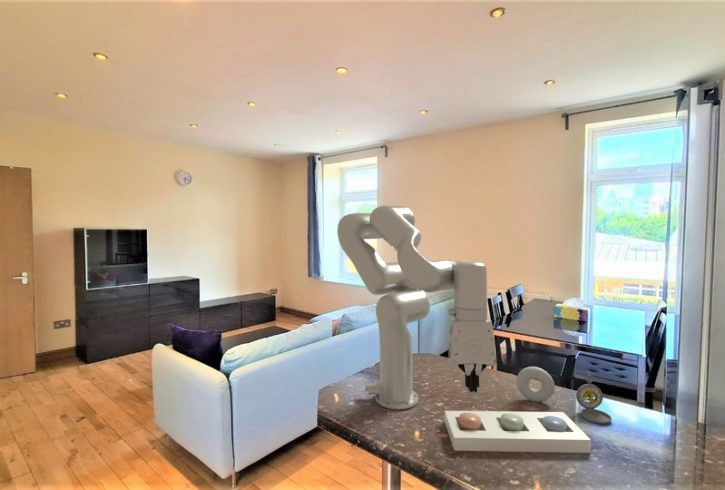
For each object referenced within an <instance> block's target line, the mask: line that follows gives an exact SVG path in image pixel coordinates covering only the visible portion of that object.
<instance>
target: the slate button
mask: <svg viewBox="0 0 725 490" xmlns="http://www.w3.org/2000/svg"><path fill="white" fill-rule="evenodd" d="M543 427H544V428H545V429H546V430H547V431H548V432H567V423H566V422H565V421H564V420H563V419H561V418H558V417H554V416H546V417H544V418H543Z"/></svg>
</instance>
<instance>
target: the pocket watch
mask: <svg viewBox="0 0 725 490" xmlns="http://www.w3.org/2000/svg"><path fill="white" fill-rule="evenodd" d="M587 377H592V378H593V379H592V378H588V379H586V378H587ZM583 378H584V380H585V381H586V382H587V383H585V384H582V385H581V386H579V387H578V388H577V390H576V393H575V397H576V401H577V403H578V404H579V405H580V406H581V407H583V408H584V409H582V410H581V413H580V414H581V416H582V417H583V418H584V419H586V420H587V421H590V422H592V423H596V424H602V425H605V424H606V425H607V424H610V423H612V421H613V420H612V417H611V415H610V414H608V413H607V412H604V411H603V410H599V409H597V408H598V407H599V406H601V404H602V403H603V400H604V394H603V392H602V390H601V388H599V387H598V386H597V385H595V384H592V382H594V381H595V377H594V376H593V375H590V374H587V375H585V376H584V377H583Z"/></svg>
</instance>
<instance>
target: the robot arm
mask: <svg viewBox="0 0 725 490" xmlns="http://www.w3.org/2000/svg"><path fill="white" fill-rule="evenodd" d="M414 215H415V214H414V213H413V212H412V210H411V209H409V208H408V207H406V206H400V205H380V206H378V207H375V208H374V209H373V210H372V211H371V213H368V212H367V213H366V212H355V213H354V212H353V213H349V214H346V215H344V216H342V217H340V220H339V221H338V224H337V231H336V232H337V239H338V242H339V244H340V247H341V250H342V251H343V253H345V255H346V256H347V257H348V259H349V261H351V262H352V264H353V266H354V268H355V270H356V272H357V273H358V275H359V277H360V279H361V281H362V282H363V284H364V286H365V288H366V289H367V290H368V291H369V293H370V294H372V295H375V296H381V295H383V296H381V298H380V297H379V299H378V301H377V302H376V305H375V317H376V319H377V325H378V332H379V335H378V336H379V380H378V383H377V382H376V383H375V384H370V383H369V384H368V383H366V384H364V386H365V387H364V391H365V392H368V394H369V395H374V400H375V402H376V403H377V404H378V405H380V406H381V407H383V408H386V409H390V410H405V409H406V410H407V409H410V408H413V407H414V406H416V405H417V404H418V402H419V395H418V393H417V392H416V391H415V390H413V339H412V336H411V333H410V331H409V329H408V327H407V325H408V324H410V323H415V322H418V321H420V320H421V321H422V320H423V319H426V317H428V315H429V313H430V311H431V305H430V300H429V298H428V296H427V294H426V293H436V292H441V291H448V290H453V293H454V294H453V297H454V299H453V301H454V305H453V307H452V308H451V309H450V308H449V309H448V316H453V318H451V322H450V327H449V328H450V329H449V339H448V341H449V343H448V348H449V349H448V351H449V359H448V364H449V366H451V367H455V368H459V369H460V370H461V371H462V372H463V373H464V386H465V387H466V388H467V389H468V391H469V392H470V393H473V392H474V393H478V388H480V376H481V374H482V372H483V371H484V370H485V369H486V368H489V367H490V368H491V367H493V366H495V365H496V360H497V358H496V357H497V355H496V354H497V353H496V352H497V351H496V343H495V342H496V339H495V334H494V327H493V323H492V320H491V319H489V318H488V283H487V282H488V279H487V278H488V275H487V266H486V265H485V263H483V262H479V261H459V260H456V259H441V260H439V259H438V260H431V261H428V259H426V258H425V257H424V256H423V255H422V254H421V253H419V251H418V250H417V248H418V246H419V245H420V242H421V240H422V234H421V232H420V230H419V229H417V228H416V227H415V222H416V221H415V220H416V219H415V216H414ZM379 239H383V240H384V241H385V242H386V243H387V244H388V245H389V246H390V247H391V248H392V249H393V250H394V251H395V252H397V253H396V256H397V257H396V258H397V262H385V261H384V260H383V259H382V257H381V256H380V254H379V253H378V252H377V250H376V248H374V247H373V246H372V245H371V244H370V243H368V242H366V241H365V240H379ZM470 365H472V370H471V366H470Z"/></svg>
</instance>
